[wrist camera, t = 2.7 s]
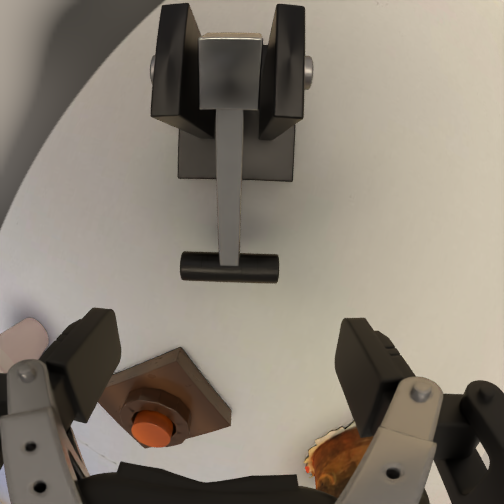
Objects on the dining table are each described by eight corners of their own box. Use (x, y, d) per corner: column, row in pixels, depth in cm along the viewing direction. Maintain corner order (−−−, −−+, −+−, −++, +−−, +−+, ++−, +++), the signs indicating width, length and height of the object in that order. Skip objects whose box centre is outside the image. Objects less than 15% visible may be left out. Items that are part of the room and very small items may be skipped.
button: (151, 437, 25) (148, 450, 24) (128, 414, 24) (123, 427, 23) (181, 430, 25) (178, 443, 23) (157, 405, 24) (153, 419, 22)
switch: (275, 263, 20) (277, 294, 18) (186, 260, 19) (181, 291, 18) (302, 36, 10) (312, 42, 9) (167, 34, 10) (150, 41, 8)
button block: (148, 435, 30) (141, 460, 26) (97, 380, 28) (83, 404, 24) (231, 410, 29) (230, 439, 25) (180, 346, 26) (172, 374, 22)
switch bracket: (290, 180, 22) (343, 206, 10) (180, 177, 22) (108, 200, 10) (295, 52, 20) (342, -41, 7) (187, 49, 19) (134, -42, 7)
